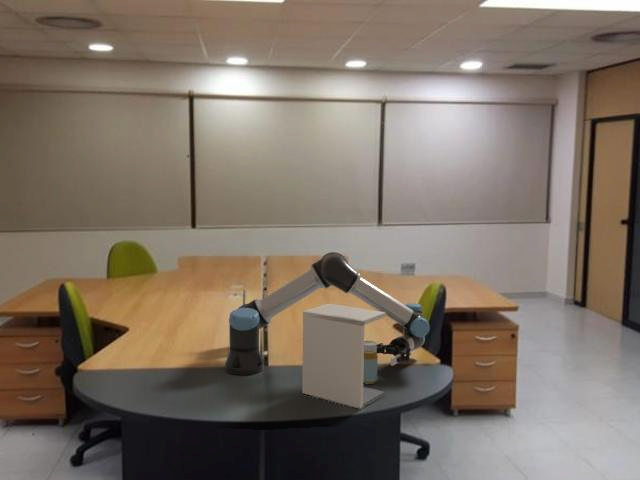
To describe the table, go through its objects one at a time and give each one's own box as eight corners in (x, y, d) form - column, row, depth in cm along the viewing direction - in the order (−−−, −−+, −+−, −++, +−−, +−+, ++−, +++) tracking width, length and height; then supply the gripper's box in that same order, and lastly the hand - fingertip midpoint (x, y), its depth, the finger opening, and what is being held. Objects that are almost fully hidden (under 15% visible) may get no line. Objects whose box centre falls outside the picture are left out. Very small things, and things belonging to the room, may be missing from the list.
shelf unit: (360, 410, 203) (362, 321, 200) (302, 394, 217) (302, 311, 213) (384, 395, 216) (386, 312, 213) (327, 382, 230) (328, 303, 227)
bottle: (358, 378, 234) (358, 340, 232) (376, 379, 234) (377, 340, 232) (358, 385, 227) (359, 345, 225) (377, 385, 227) (378, 345, 225)
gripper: (429, 360, 244) (405, 374, 226) (374, 349, 258) (347, 362, 240) (429, 342, 243) (405, 354, 225) (374, 332, 257) (348, 343, 239)
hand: (375, 358), depth 233 cm, fingers open, 13 cm apart
